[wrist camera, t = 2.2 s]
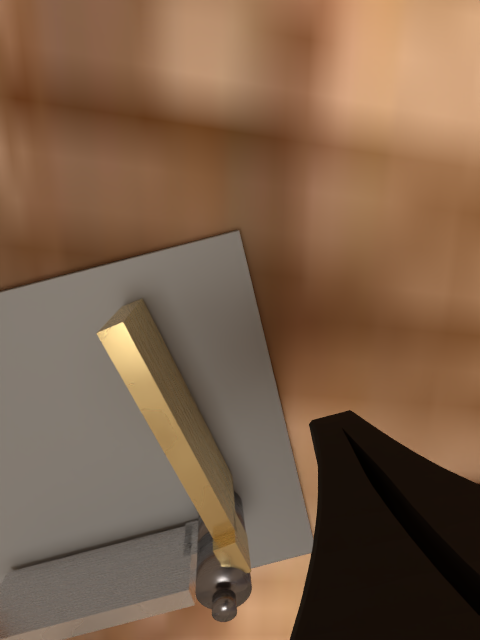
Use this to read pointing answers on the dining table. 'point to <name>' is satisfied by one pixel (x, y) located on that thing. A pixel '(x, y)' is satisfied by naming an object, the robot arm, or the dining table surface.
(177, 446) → the swing leaf
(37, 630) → the fixed leaf
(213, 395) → the board
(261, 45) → the dining table surface
